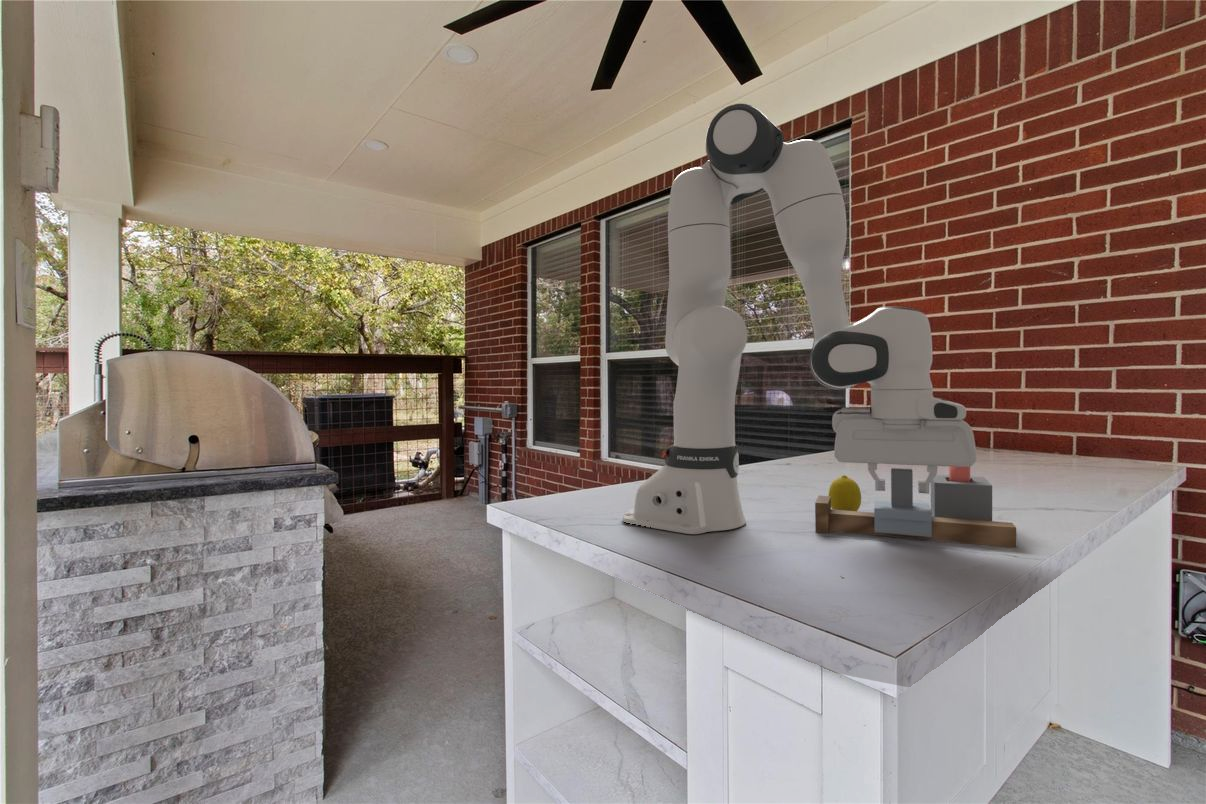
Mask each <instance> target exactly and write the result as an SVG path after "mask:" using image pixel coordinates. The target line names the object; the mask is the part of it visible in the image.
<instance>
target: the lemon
mask: <svg viewBox="0 0 1206 804" xmlns="http://www.w3.org/2000/svg"><path fill="white" fill-rule="evenodd" d="M861 493H862V491H861V489H860V486H859V485H858V483H857V482H856V481H855V480H854V479H852V478H850V477H848V476H847V475H841V476H840V477H838V478H836V479H834V480H833V481H832V482H831V484H830V485H829V489H828V496H831V509H832V510H846V511H859V509H860V506H861V504H862V494H861Z"/></svg>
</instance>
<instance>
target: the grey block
mask: <svg viewBox="0 0 1206 804" xmlns="http://www.w3.org/2000/svg"><path fill="white" fill-rule="evenodd" d="M930 509H931V512H932V517H941V518H954V519H968V520H981V521H993V485H992V484H991V483H990V481H988V479H987V478H985V477H984V476H971V475H970V482H952V481H949V475H946V474H936V476H935V477H934V478H933V480H932V481H931V483H930Z"/></svg>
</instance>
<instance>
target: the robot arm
mask: <svg viewBox="0 0 1206 804" xmlns="http://www.w3.org/2000/svg"><path fill="white" fill-rule="evenodd" d="M784 137H785V136H784V133H783V131H782V130H781V129H780V128H779V127H777V126H776V125H775V124H774V123H773V121H771V120H770V119H769V118H768V117H767V116H766V115H765V113H763V112H762V111H761V110H760V109H758V108H756V107H755V106H753V105H750V104H747V103H734V104H731V105H728V106H726V107H725V108H722V109H721V110H719V112H718V113H716V114H715V116H714V117H713V118H712V119H711V121H710V123H709V126H708V127H707V130H706V135H705V153H706V156H707V160H706V162H705V163H703V164H702V165H700V166H698V167H692V168H690V169H686V170H683V171H682V172H681V173H680V174H678V175H677V176H676V178H675V179H674V180H673V182H672V185H671V187H670V188H671V189H670V194H669V201H668V211H667V212H668V215H667V238H668V240H667V241H668V243H667V244H668V245H667V246H668V273H669V275H668V276H669V277H668V279H669V280H668V290H667V291H668V292H667V303H666V304H667V305H666V306H667V307H666V318H665V319H666V320H665V339H664V345H665V351H666V353H667V355H668V357H669V358H670V360H671V361H672V362H673V363H674V364H675V365H676V366H678V368H677V369H678V371H677V378H676V379H677V380H676V388H675V396H674V399H673V403H672V406H673V407H672V409H673V411H672V412H673V444H671V445H670V446H669V447H668V448H666V449H664V450H663V451H661V453H662V455H661V457H662V459H664V462H665V465H664V466H662V467H660V469H658V470H657V471H656V472H654V473H653V474H652V475H651V476H650V477H648V478H647V479H646V480H645V481H644V482H642V483H641V484H640V485H639V486H638V488H637V491H636V493H635V494H636V495H635V499H634V507H632V508H630V509H628V510H627V511H626V512H624V513H623V515H622V522H623V521H624V522H626V523H630V524H629V525H632V524H636V525H635V526H638V525H641V526H640V527H644V526H646V527H645V528H650V527H651V528H652V529H656V530H662V531H663V530H664V531H669V532H675V533H681V534H687V535H699V534H705V533H707V532H709V533H710V532H718V531H719V532H720V531H727V530H733V529H737V528H740V527H742V526H744V525H745V524H746V523H747V521H746V517H745V514H744V511H743V506H742V504H741V503H742V502H741V499H740V491H739V485H738V475H739V472H740V471H739V470H740V468H739V467H740V466H739V465H740V463H739V461H740V460H739V459H740V458H739V457H740V456H739V452H738V451H739V450H738V445H737V444H736V421H735V419H736V417H735V416H736V414H735V412H736V411H735V408H736V407H735V405H736V404H735V403H736V395H737V394H736V393H737V387H738V381H739V376H740V369H741V368H740V367H741V361H742V357H743V356H742V355H743V352H744V350H745V347H746V344H747V342H748V328H747V325H746V322H745V320H744V319H743V318H742V316H741V315H740V314H739V313H738V312H737V311H735V310H733V309H732V308H730V307H727V306H725V303H726V297H727V292H728V291H727V290H728V286H729V281H730V279H731V277H732V275H731V274H732V265H731V263H732V260H731V258H732V257H731V255H732V254H731V229H730V225H731V224H730V208H731V207H730V206H731V205H734V204H737V203H739V202H742V201H744V200H745V199H748V198H751V197H755V196H757V195H758V194H760V193H763V192H764V191H765V192H766V193H767V195H768V198H769V200H770V203H771V207H772V213H773V217H774V222H775V227H776V229H777V233H778V236H779V240H780V242H781V245H782V246H783V249H784V252H785V254H786V255H787V258H788V260H789V262H790V263H791V265H792V267H793V270H794V271H795V273H796V275H797V276H798V279H799V281H800V283H801V287H802V288H803V291H804V293H805V298H806V303H807V308H808V312H809V316H810V317H809V318H810V321H811V326H812V333H813V343H812V347H811V351H810V356H809V369H810V372H811V375H812V376H813V377H814V379H815V380H816V381H817V383H819V384H820V385H822V386H824V387H825V388H828V389H832V390H845V389H849V388H852V387H855V386H856V385H859V384H862V383H863V384H864V383H867V384H869V386H870V406H860V407H849V406H845V407H841V409H837V410H836V411H835V412H834V413H833V415H832V419H831V420H832V421H831V422H832V423H831V424H832V425H831V427H832V429H833V431H834V433H836V434H835V440H834V448H833V449H834V452H833V454H834V455H833V456H834V458H835V460H836V461H838V463H850V464H851V463H854V464H867V471H868V473H869V475H870V476H871V477H872V479H873V480H874V483H875V484H874V488H875V491H876V492H885V491H886V478H880V477H879V476H878V473H877V472H876V471H877V470H878V464H880V465H882V464H883V465H903V466H905V465H906V466H925V467H926V469H925V470H926V472H927V473H928V474H927V475H926V477H925V478H924V480H918V481H917V485H918V487H917V490H918V491H917V492H918V494H925V495H929V494H930V484H931V481H932V480H933V478H934V477H935V476H936V475H938V467H949V466H952V467H970V468H971V467H973V465H975V464H976V462H977V446H976V441H975V435H974V431H973V428H972V427H971V426H970V424H969V423H968V422H966V421H965V420H964V419H966V416H967V408H966V407H965V406H964V405H963V404H960V403H958V402H954V401H950V400H947V399H945V398H941V397H939V398H938V397H934V395H933V394H934V393H933V390H934V389H933V383H932V380H931V376H930V375H931V374H930V373H931V367H932V365H933V339H932V337H933V336H932V331H931V330H932V329H931V325H930V324H931V323H930V321H929V318H928V316H927V315H926V314H925V313H924V312H923V311H921V310H920V309H916V308H913V307H912V308H911V307H904V306H897V305H895V306H889V305H888V306H880V307H878V308H876V309H875V310H874V311H872V312H871V313H870V314H868V315H867V316H865V317H863V318H862V319H860V320H858V321H856V322H854V323H851V324H850V320H849V313H848V308H847V304H846V298H845V294H844V289H843V284H842V269H843V267H842V266H843V263H844V262H843V260H844V256H845V250H846V245H847V238H848V237H847V236H848V235H847V233H848V230H847V229H848V226H847V223H848V222H847V211H846V206H845V205H846V204H845V200H844V197H843V196H844V195H843V192H842V188H841V184H840V181H839V178H838V174H837V172H836V170H835V166H834V164H833V162H832V159H831V158H830V156H829V153H828V151H827V149H826V147H825V146H824V145H823V143H821V142H819V141H817V140H814V139H800V140H795V141H792V142H784ZM624 522H623V523H624ZM626 523H625V524H626Z"/></svg>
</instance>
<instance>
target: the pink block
mask: <svg viewBox="0 0 1206 804" xmlns="http://www.w3.org/2000/svg"><path fill="white" fill-rule="evenodd" d="M948 471H949V473H948V474H949V475H948V476H949V481H952V482H970V476H971V467H952V466H948Z"/></svg>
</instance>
